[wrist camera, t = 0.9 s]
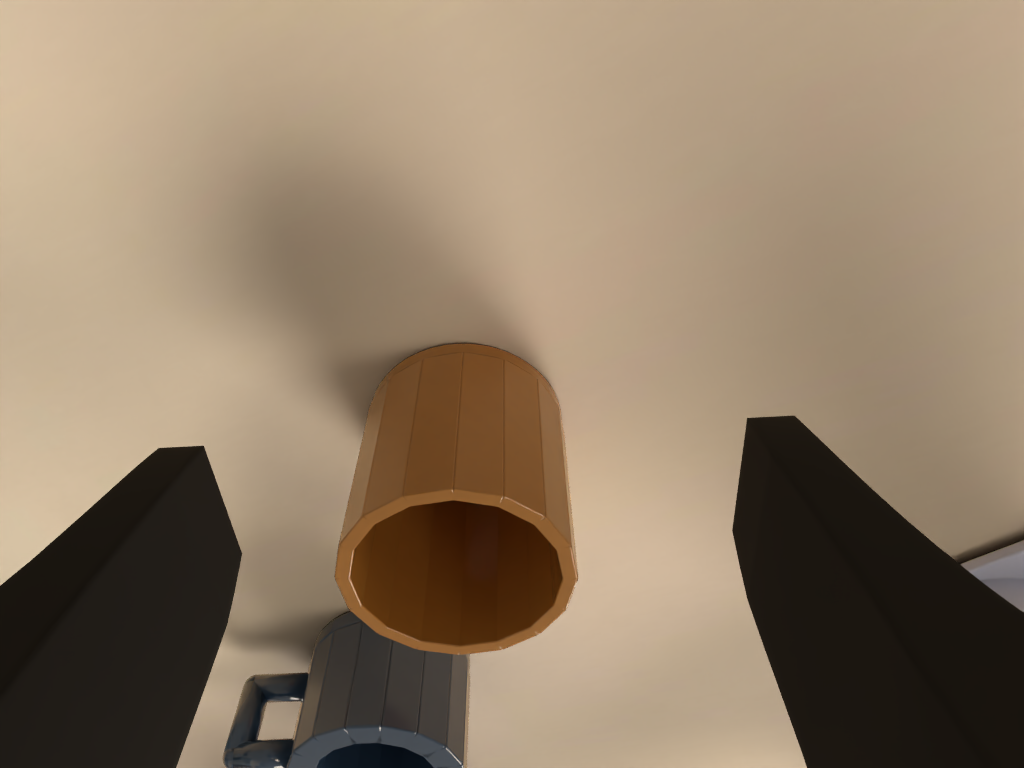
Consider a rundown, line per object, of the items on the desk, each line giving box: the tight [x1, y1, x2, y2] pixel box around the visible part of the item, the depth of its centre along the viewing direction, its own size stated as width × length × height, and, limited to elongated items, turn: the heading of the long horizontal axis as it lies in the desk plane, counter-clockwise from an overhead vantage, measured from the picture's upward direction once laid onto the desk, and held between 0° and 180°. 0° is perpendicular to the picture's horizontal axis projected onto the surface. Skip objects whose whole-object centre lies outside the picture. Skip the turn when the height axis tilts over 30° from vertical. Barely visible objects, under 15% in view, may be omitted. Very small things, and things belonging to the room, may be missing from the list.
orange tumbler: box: [335, 344, 578, 655], centre depth 20 cm, size 5×5×6 cm
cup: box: [223, 611, 470, 768], centre depth 27 cm, size 8×5×4 cm
